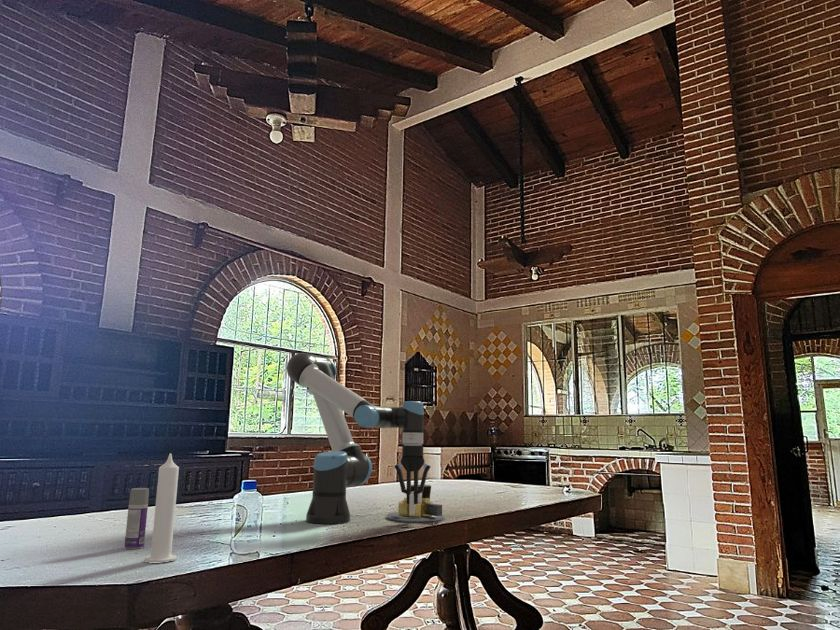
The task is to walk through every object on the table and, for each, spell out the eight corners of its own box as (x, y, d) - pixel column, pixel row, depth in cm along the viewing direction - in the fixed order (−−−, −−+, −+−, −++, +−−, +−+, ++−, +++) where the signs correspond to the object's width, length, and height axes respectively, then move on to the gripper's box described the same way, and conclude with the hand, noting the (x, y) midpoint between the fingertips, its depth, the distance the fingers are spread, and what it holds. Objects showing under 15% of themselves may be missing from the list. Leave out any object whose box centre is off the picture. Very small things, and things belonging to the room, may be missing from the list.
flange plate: (384, 522, 205) (384, 494, 207) (389, 513, 226) (390, 488, 227) (444, 523, 204) (444, 495, 206) (444, 514, 225) (444, 489, 226)
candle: (180, 557, 145) (189, 453, 150) (169, 563, 138) (179, 454, 143) (151, 557, 145) (161, 452, 149) (139, 563, 138) (150, 453, 142)
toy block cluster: (391, 513, 216) (392, 498, 217) (417, 510, 224) (417, 496, 225) (426, 519, 202) (426, 503, 203) (452, 516, 210) (452, 501, 211)
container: (138, 545, 159) (144, 487, 162) (147, 547, 156) (152, 488, 159) (120, 547, 155) (127, 488, 158) (129, 550, 152) (135, 490, 155)
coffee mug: (428, 513, 227) (429, 486, 229) (407, 512, 229) (407, 486, 231) (434, 509, 238) (434, 484, 240) (413, 509, 240) (413, 483, 242)
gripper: (392, 444, 208) (391, 514, 203) (429, 445, 206) (429, 516, 202) (396, 444, 215) (395, 512, 211) (432, 444, 213) (431, 513, 209)
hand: (412, 513), depth 206 cm, fingers closed
